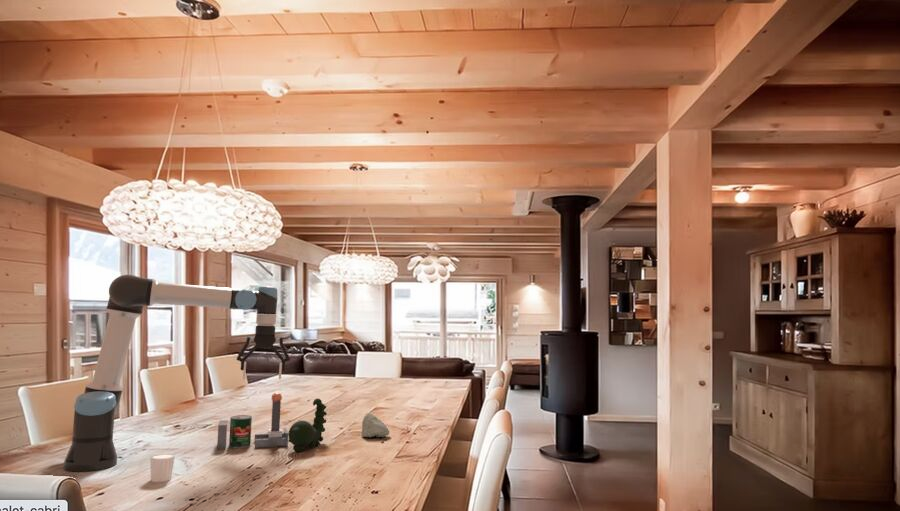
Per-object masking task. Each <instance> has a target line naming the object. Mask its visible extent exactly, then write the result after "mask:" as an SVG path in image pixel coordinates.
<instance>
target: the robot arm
mask: <svg viewBox="0 0 900 511" xmlns="http://www.w3.org/2000/svg"><path fill="white" fill-rule="evenodd" d="M108 295H109V298H108V302H107V306H106V309H105V310H106V311H107V312H108V314H109V317H108V321H107V324H106V328H105V331H104V332H105V333H104V335H103V339H102V343H101V347H100V350H99V354H98V359H97V362H96V366H95V370H94V373H93V377H92V381H91V382H89V383H88V384H86V385H85V388H84V391H83V392H84V393H82V394H81V393H80V394H79V395H78V396H77V397H76V398H75V402H74V406H73V408H74V412H73V413H74V415H73V423H72V424H73V425H72V426H73V427H72V437H71V439H72V440H71V445H70V446H69V449H68V452H67V454H66V456H65V458H64V461H63V470H64V471H67V472H68V471H70V472H90V471H98V470H103V469H107V468H111V467H113V466H115V465H116V464H117V463H118V455H117V450H116V448H115V447H116V446H115V444H114V439H113V438H114V426H115V417H116V416H117V414H118V412H119V410H120V401H121V398H122V397H121V396H122V395H123V387H122V386H121V384H120V382H121V380H122V375H123V371H124V367H125V363H126V360H127V355H128V351H129V347H130V345H131V344H130V343H131V339H132V336H133V331H134V329H135V328H134V327H135V323H136V319H138V318H139V317H140V316H142V315H143V314H142V313H143V311H144V308H145V307H146V306H147V307H151V306H154V305H155V304H156V305H157V304H159V305H171V306H174V305H175V306H185V307H187V306H188V307H203V308H204V307H205V308H217V309H219V308H221V309H228V310H235V311H236V310H243V311H249V310H250V311H251V310H252V311H253V310H254V311H256V320H255V324H256V326H255V335H254V337H250V336H247V338H246V340H245V343H244V345H243V347H242V348H241V350H240V351H239V353H238V355H237V357H236V361H238V362H240V371H243V373H242V375H243V376H242V380H245V379H246V374H247V373H246V370H247V361H246V360H247V359H249V357H250V356H251V355H252V354H253V353H254V352H255V351H256V350H257V349H261V350H262V349H266V350H269V349H270V348H271V349H272V351H273V353H274V354H275V355H276V356H277V357H278V358H279V359H280V362H279V367H278V368H279V369H278V379H279V380H282V371H285V368H286V362H288V361H290V360H291V359H290V356H289V354H288V352H287V350H286V347H285V344H284V342H283V341H284V340H283V337H277V338H276V326H275V325H276V322H277V308H278V288H276V287H275V286H259V287H258V289H257V290H251V289H250V288H249V289H247V288H231V287H218V286H217V287H216V286H209V285H196V284H194V285H193V284H183V283H182V284H181V283H173V282H172V283H169V282H161V281H160V282H158V281H157V280H156V279H155V278H145V277H140V276H137V275H134V274H123V275H120V276H117V277H116V278H115V279H113V280H112V282H111V283H110V285H109V287H108ZM252 342H254V343H255V345H254V346H253V347H252V348H251V349H250V350H249V351H248V352H247V353H246V354H245V355H244V353H245V351H246V349H247V348H248V346H249V344H250V343H251V344H252ZM275 342H276V343H277V344H279V346H280V348H281V350H282V353H283V355H284V357H285V358H284V357H283V356H282V355H281V353H280V351H278V349H277V348H276V347H275V346H274V343H275ZM243 355H244V356H243ZM242 356H243V357H242ZM117 465H118V464H117Z"/></svg>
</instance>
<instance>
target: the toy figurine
mask: <svg viewBox="0 0 900 511" xmlns="http://www.w3.org/2000/svg"><path fill="white" fill-rule="evenodd" d="M312 405H313V406H315V408H316V409H315V412H314V416H315V417H314V418H313V424H311V423H310V422H308V421H307V420H298V421H296V422H294V423H293V424H292V425H291V426H290V427H289V430H288V443H291V444H292V446H293V447H292V448H293V451H294V452H296V453H303V451H304V450H305V448H306V447H307V446H308V447H310V448H311V449H313V448H315V447H319V446H320V444H321V442H323V441H324V437H323V436H322V435H323V434H322V433H324V432H326V428H325V426H324V424H327V419H325V416H327V414H328V413H327V412H326V411H325V410H326V408H327V406H326V405H325V404H324V403H323V402H322V400H321V398H317V397H316V398H315V399H314V400H313V403H312ZM315 445H316V446H315ZM318 445H319V446H318Z"/></svg>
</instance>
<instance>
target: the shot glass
mask: <svg viewBox="0 0 900 511" xmlns="http://www.w3.org/2000/svg"><path fill="white" fill-rule="evenodd" d="M149 460H150V461H149V464H150V482H153V483H163V482H168V481H170V480H171V479H172V477H173V476H172V475H173V468H174V463H175V455H174V454H172V453H161V454H155V455H151V456H150V458H149Z"/></svg>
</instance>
